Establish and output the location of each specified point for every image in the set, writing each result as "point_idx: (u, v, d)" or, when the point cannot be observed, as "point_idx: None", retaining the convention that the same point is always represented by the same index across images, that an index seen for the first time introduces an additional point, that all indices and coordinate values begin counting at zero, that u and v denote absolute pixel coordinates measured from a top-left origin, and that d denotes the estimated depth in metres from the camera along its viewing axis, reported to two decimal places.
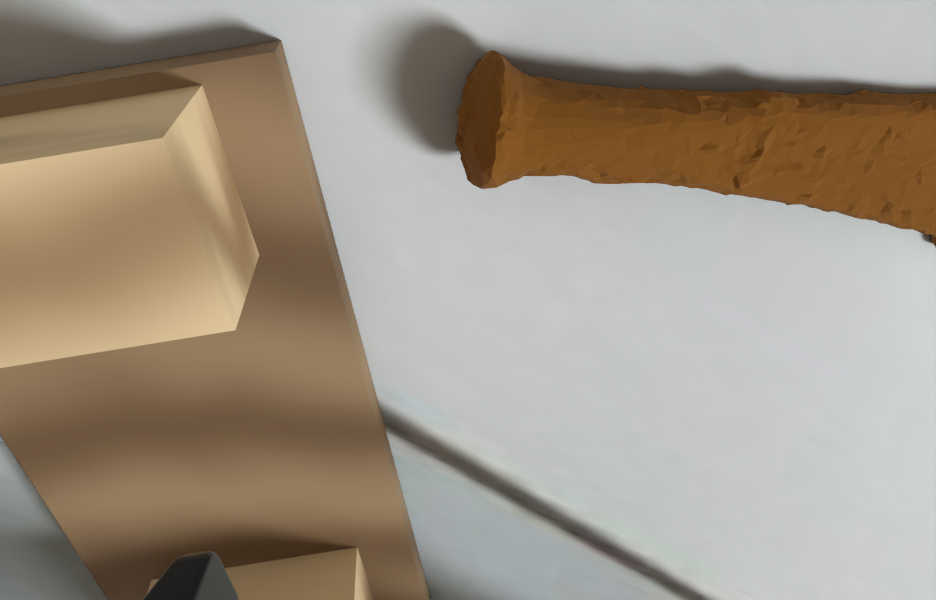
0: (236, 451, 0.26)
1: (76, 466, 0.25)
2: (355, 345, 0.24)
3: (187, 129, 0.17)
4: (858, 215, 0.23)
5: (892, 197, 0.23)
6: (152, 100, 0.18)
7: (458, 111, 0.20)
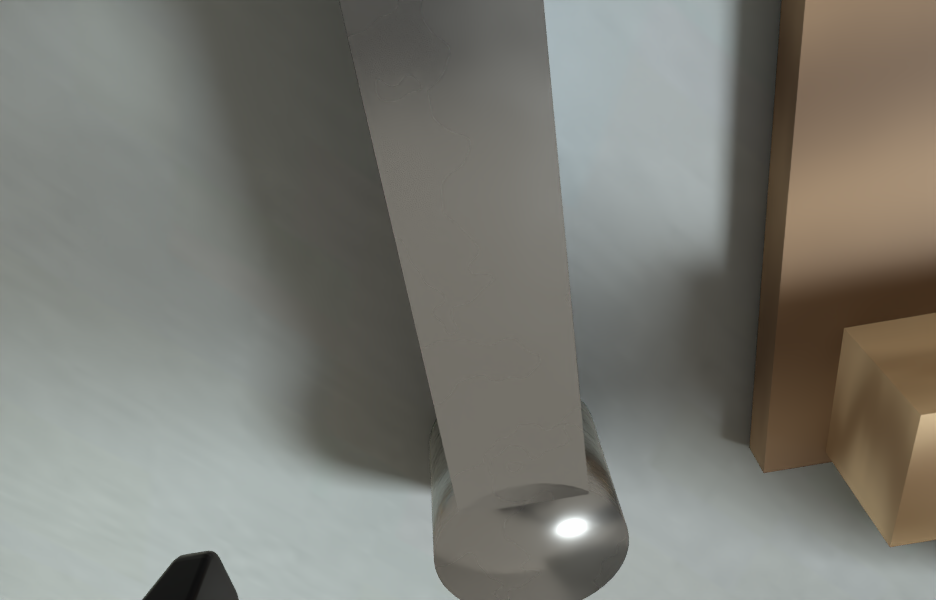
0: None
1: (863, 124, 0.18)
2: None
3: None
4: None
5: None
6: None
7: None
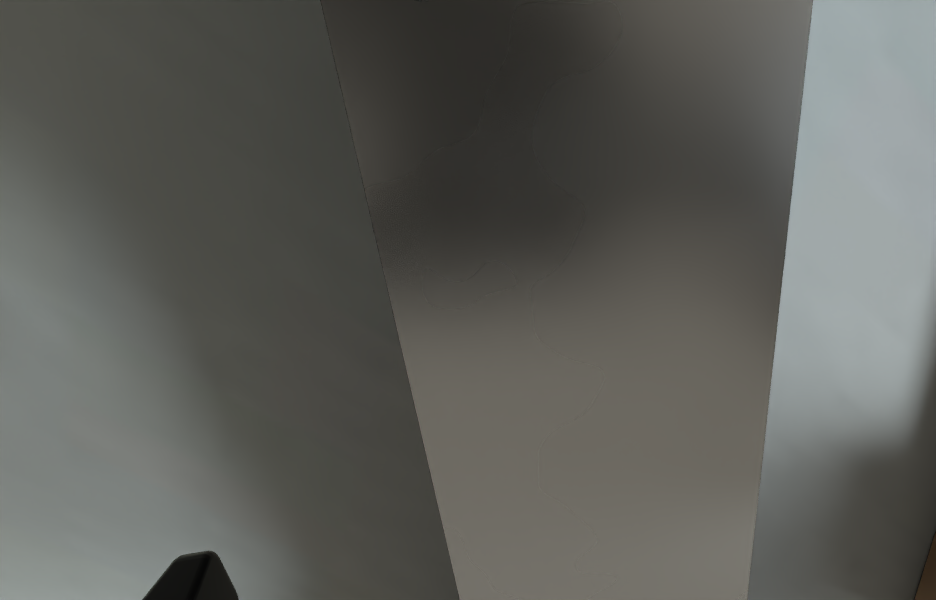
0: None
1: None
2: None
3: None
4: None
5: None
6: None
7: None
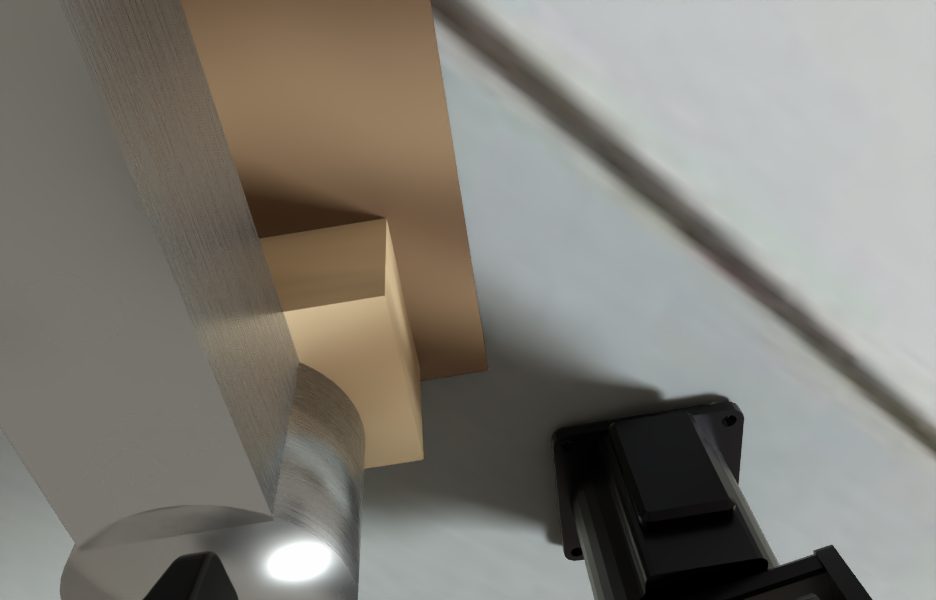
0: (202, 6, 0.16)
1: None
2: None
3: None
4: None
5: None
6: None
7: None
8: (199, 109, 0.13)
